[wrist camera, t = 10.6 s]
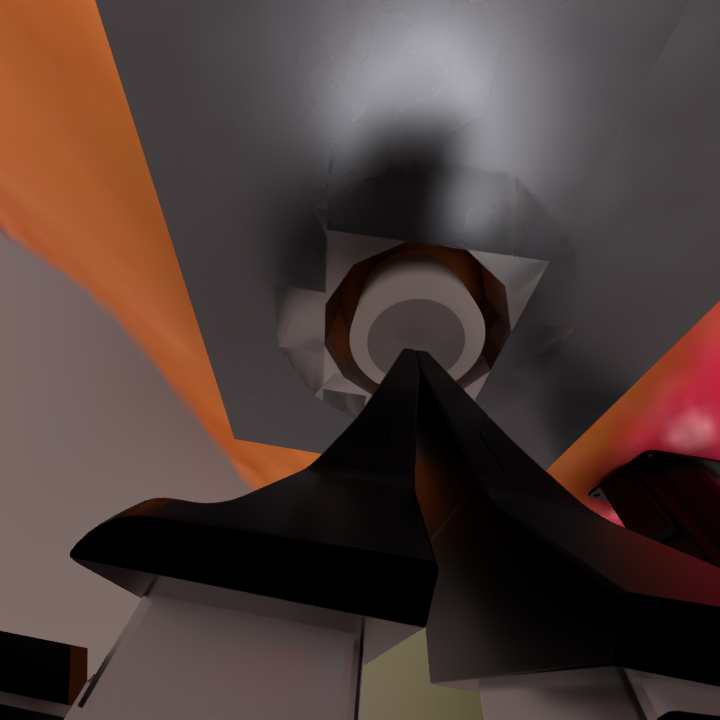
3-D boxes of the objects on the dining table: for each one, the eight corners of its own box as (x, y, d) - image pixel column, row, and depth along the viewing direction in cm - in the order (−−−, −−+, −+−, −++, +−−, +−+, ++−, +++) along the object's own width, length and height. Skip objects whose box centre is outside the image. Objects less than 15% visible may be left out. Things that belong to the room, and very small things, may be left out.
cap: (476, 255, 11) (509, 288, 8) (446, 349, 14) (461, 401, 11) (365, 243, 12) (353, 270, 8) (357, 338, 15) (346, 385, 11)
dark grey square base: (796, 53, 7) (1047, -21, 4) (507, 439, 18) (527, 488, 15) (179, -15, 8) (57, -118, 5) (259, 398, 19) (234, 438, 16)
